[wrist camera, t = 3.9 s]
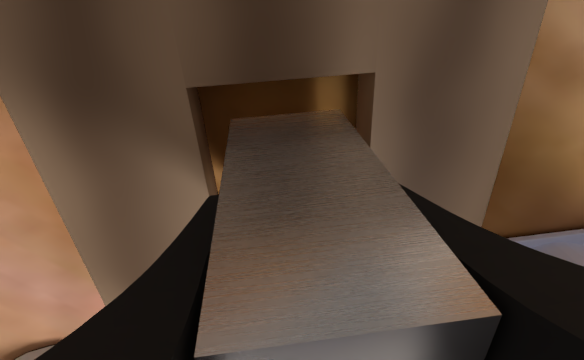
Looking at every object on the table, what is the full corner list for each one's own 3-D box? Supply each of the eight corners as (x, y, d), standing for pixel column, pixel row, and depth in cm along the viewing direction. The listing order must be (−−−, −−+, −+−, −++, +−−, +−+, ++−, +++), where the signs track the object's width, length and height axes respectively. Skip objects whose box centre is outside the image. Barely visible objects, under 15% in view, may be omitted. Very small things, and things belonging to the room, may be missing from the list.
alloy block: (339, 109, 12) (502, 314, 4) (338, 199, 14) (447, 452, 6) (230, 118, 12) (193, 358, 4) (244, 209, 14) (238, 488, 6)
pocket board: (529, -97, 11) (581, -114, 9) (445, 255, 19) (465, 281, 17) (-31, -72, 10) (-90, -85, 8) (129, 295, 18) (116, 327, 16)
